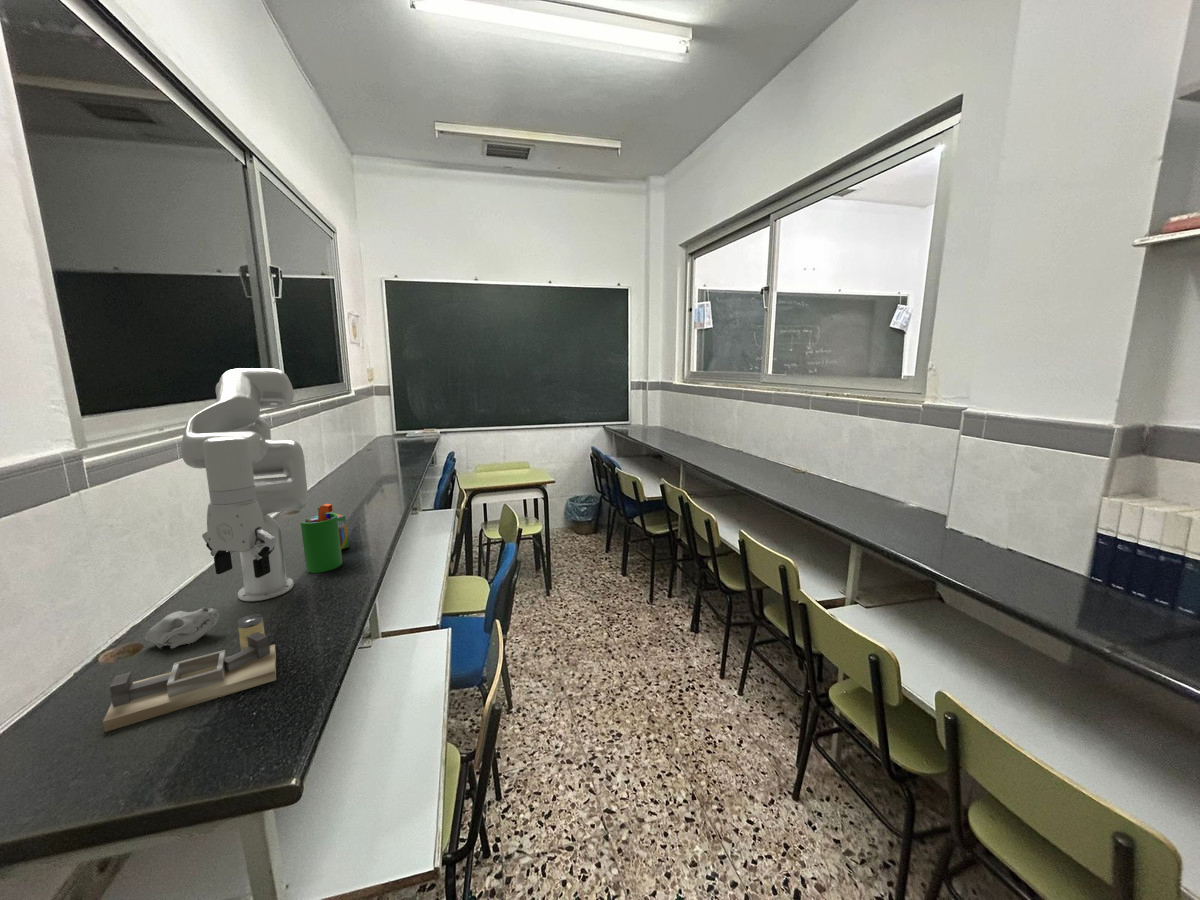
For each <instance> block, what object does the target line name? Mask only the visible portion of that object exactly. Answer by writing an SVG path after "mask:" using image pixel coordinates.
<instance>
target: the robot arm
mask: <svg viewBox="0 0 1200 900" xmlns="http://www.w3.org/2000/svg"><path fill="white" fill-rule="evenodd" d="M292 385H293V384H292V382H291V381H290V378H289V377H288V374H286V373H285V372H284V371H283V370H280V369H276V368H253V367H251V368H244V367H243V368H241V367H239V368H233V369H229V370H226V371H225V372H224V373H223V374H221V377H220V378H219V381H218V382H217V383H216V385H215V394H216V400H215V403H214V404H211V405H210V406H208V407H207V406H206V407H205V408H204V409H202V410H200V411H199V412H198V413H196V414H194V415H193V416H191V418H190V419H189V420H188V421H187V422H186V424H185V426H184V427H185V428H184V431H183V434H182V439H181V446H180V453H181V458H182V460H183V462H184V463H185V464H186V465H187V466H188V467H190V468H193V469H199V470H201V469H205V472H206V479H207V488H208V493H209V501H210V503H208V504H207V505H208V506H207V510H206V511H207V512H206V530H207V531H205V532H204V533H202V535H201V537H202V538H203V541H204V542H205V545H206V548H207V549H208V550H209V551H210V555H211V556H212V557H213V561H214V569H215V574H216V575H221V574H224V573H226V572H228V571H231V570H232V569H233V562H232V554H231V552H232V553H234V552H235V553H239V556H240V557H239V559H240V565H241V572H242V578H243V579H242V580H243V586H242V588H240V589H239V590H238V592H237V597H238V599H239V600H241V601H243V602H259V601H265V600H270V599H273V598H276V597H279V596H281V595H284V594H285V593H288V592H289V591H291V590H292V589H293V587H294V580H293V579H292V578H291V577H287V571H286V563H285V556H284V555H285V553H284V546H283V537H282V529H281V526H280V524H279V522H277V521H276V520H275V519H274V517H272V516H270V515H269V514H274V513H275V514H276V513H283V512H291V511H296V510H301V509H303V508H304V507H306V505H307V503H308V498H309V497H308V484H307V483H308V482H307V473H306V462H305V454H304V451H303V448H302V445H301V444H300V443H299V442H298V441H295V440H291V439H281V440H272V438H271V437H272V436H271V435H272V434H271V433H272V431H271V426H270V424H269V423H268V422H267V421H266V420H265V419H264V418H263V417H261V416H260V412H261V409H274V408H275V409H279V408H288V407H290V406H292V403H293V402H294V396H295V394H294V388H293V386H292ZM276 475H277V476H278V475H285V476H278V477H276ZM264 476H275V477H265V478H263V477H264ZM255 477H262V478H255Z"/></svg>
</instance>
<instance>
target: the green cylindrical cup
mask: <svg viewBox="0 0 1200 900" xmlns="http://www.w3.org/2000/svg"><path fill="white" fill-rule="evenodd" d="M318 508H319V511H318V513H317V514H318V519H316V520H312V521H309V522H307V523H305V521H302V522H300V527H301V536H302V544H303V545H302V546H303V551H304V552H303V553H304V561H305V568H306V573H309V572H311V574H317V573H318V574H319V573H324V572H329V571H332V570H335V569H337V568H339V567H340V566H342V565H343V557H342V550H341V546H340V537H339V528H338V519H337V514H338V513H336V514H334V513H335V512H333V510H334V509H333V504H331V503H324V504H322V505H320V506H319V507H318ZM326 512H327V513H326ZM331 512H332V513H331Z"/></svg>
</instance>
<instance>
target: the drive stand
mask: <svg viewBox="0 0 1200 900" xmlns="http://www.w3.org/2000/svg"><path fill="white" fill-rule="evenodd" d="M247 640H248V648H246V649H244V650H242V651H241V650H240V651H238V652H236V653H234V654H232V655H229V656H227V654H226V653H227V651H226V649H223V650H218V651H214V652H210V653H207V654H202V655H201V656H199V655H198V656H196V657H191V658H188V659H184V660H180V661H177V662H174V663H173V665H172V669H171V671H170V672H165V673H163V674H159V675H154V676H151V677H147V678H143V679H140V680H135V681H133V676H132V672H131V671H129V672H126V673H122V674H117V675H115V676H114V678H113V680H112V682H111V684H110V686H109V689H110V699H111V703H110V706H109V707H108V710H107V712H106V714H105V716H104V717H103V720H102V726H103V731H104V733H106V732H110V731H113V730H117V729H120V728H124V727H126V726H129V725H133V724H136V723H139V722H143V721H146V720H149V719H153V718H156V717H159V716H163V715H165V714H169V713H172V712H176V711H178V710H179V711H180V710H183V709H185V708H189V707H192V706H196V705H198V704H201V703H205V702H209V701H212V700H215V699H218V697H219V698H222V697H225V696H228V695H232V694H235V693H238V692H242V691H244V690H248V689H251V688H254V687H258V686H261V685H265V684H267V683H271V682H274V681H276V680H277V650H276V644H275V643H274V644H271V645H270V642H269V636H268V635H266V634H265V635H264V634H261V633H259V632H256V633H254V634H252V635H250V636H247Z"/></svg>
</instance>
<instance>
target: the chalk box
mask: <svg viewBox="0 0 1200 900" xmlns="http://www.w3.org/2000/svg"><path fill="white" fill-rule="evenodd" d="M319 508H320V507H317V511H318V512H319ZM326 513H327V512H326ZM330 513H334V514H337V519H338V528H339V537H340V546H341V551H342V550H343V549H347V548H349V547H350V545H349V535H348V529H347V528H348V527H347V520H346V515H343V514H339V513H336V512H333V511H332V512H330ZM316 519H318V515H314V516H311V517H307V518H305V519H304V522H305V523H307V522H309V521H312V520H316Z"/></svg>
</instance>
